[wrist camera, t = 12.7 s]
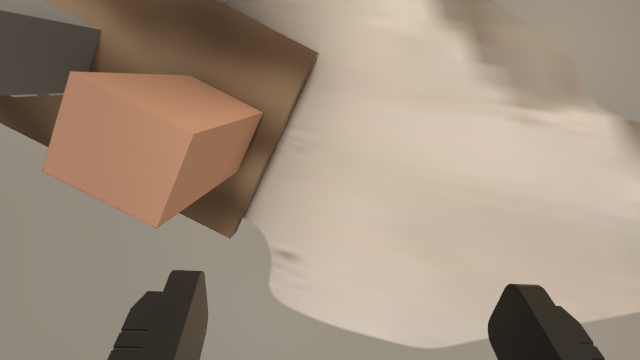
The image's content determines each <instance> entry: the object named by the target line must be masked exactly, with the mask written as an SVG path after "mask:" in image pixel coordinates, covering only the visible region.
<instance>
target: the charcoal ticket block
mask: <svg viewBox="0 0 640 360" xmlns="http://www.w3.org/2000/svg"><path fill="white" fill-rule="evenodd" d="M100 33H101V29H99V28H97V27H95V26H93V25H91V24H89V23H87V22H85V21H83V20H81V19H79V18H77V17H75V16H73V15H71V14H69V13H67V12H65V11H63V10H61V9H59V8H57V7H55V6H53V5H51V4H49V3H47V2H45V1H43V0H0V96H3V95H10V96H12V97H27V96H37V94H49V95H64V91H65V88H66V84H67V81H68V77H69V74H70V71H74V72H89V70H90V66H91V63H92V60H93V56H94V53H95V49H96V46H97V43H98V39H99V36H100Z"/></svg>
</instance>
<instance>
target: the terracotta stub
mask: <svg viewBox="0 0 640 360" xmlns="http://www.w3.org/2000/svg"><path fill="white" fill-rule="evenodd" d="M262 114H263V112H261V111H259V110H257V109H255V108H253V107H251V106H249V105H247V104H245V103H243V102H241V101H239V100H237V99H235V98H233V97H231V96H230V95H228V94H226V93H224V92H222V91H220V90H218V89H216V88H214V87H212V86H210V85H208V84H206V83H204V82H202V81H200V80H198V79H196V78H194V77H192V76H190V75H161V74H132V73H103V72H74V71H70V74H69V77H68V81H67V84H66V88H65V91H64V95H63V98H62V102H61V105H60V109H59V112H58V116H57V120H56V123H55V127H54V130H53V134H52V137H51V141H50V144H49V148H48V151H47V155H46V158H45V162H44V165H43V169H42V171H43V172H45V173H47V174H49V175H51V176H53V177H56V178H57V179H59V180H61V181H63V182H66V183H67V184H69V185H71V186H73V187H75V188H77V189H79V190H81V191H83V192H85V193H87V194H89V195H91V196H93V197H95V198H97V199H99V200H101V201H103V202H105V203H107V204H109V205H111V206H113V207H115V208H117V209H119V210H121V211H123V212H125V213H127V214H129V215H131V216H133V217H135V218H137V219H139V220H141V221H143V222H145V223H147V224H149V225H151V226H153V227H155V228H158V227H159V226H161V225H162V224H163V223H165V222H166V221H168V220H169V219H171V218H172V217H173V216H175V215H176V214H178V213H179V212H181V211H182V210H183V209H185V208H186V207H188V206H189V205H190V204H192V203H193V202H195V201H196V200H198V199H199V198H200V197H202V196H203V195H205V194H206V193H208V192H209V191H210V190H212V189H213V188H215V187H216V186H217V185H219V184H220V183H222V182H223V181H225V180H226V179H227V178H229V177H230V176H232V175H233V174H235V173H236V172H237V171H238V169H239V167H240V164H241V162H242V160H243V158H244V155H245V153H246V151H247V148H248V146H249V144H250V142H251V139H252V137H253V135H254V133H255V130H256V128H257V126H258V124H259V121H260V119H261V117H262Z"/></svg>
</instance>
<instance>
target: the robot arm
mask: <svg viewBox="0 0 640 360" xmlns="http://www.w3.org/2000/svg"><path fill="white" fill-rule="evenodd" d="M207 321H208V306H207V295H206V285H205V276H204V272H203V271H184V270H173V271H172V272H171V273H170V275H169V278H168V280H167V283H166V286H165V288H164V291H163V292H156V291H154V292H153V291H148V292H146V293H145V295H144V296H143V297H142V298H141V299H140V300H139V301H138V302H137V303H136V304H135V305H134V306H133V307H132V308H131V309H130V312H129V314H128V316H127V318H126V320H125V323H124V325H123V327H122V331H121V333H120V334H119V336H118V338H117V340H116V342H115V344H114V349H113V351H111V353H110V355H109V358H108V360H199V359H200V355H201V351H202V347H203V343H204V339H205V335H206V329H207ZM488 335H489V340H490V343H491V345H492V347H493V349H494V352H495V354H496V356H497V359H498V360H605V359H604V357H603V356H602V354H601V353H600V351H599V350H598V348H597V347H596V346H593V341H592V340H591V338H590V337H589V336H588V334H587V333H586V332H585V330H584V329H583V327H582V326H581V324H580V323H579V322H578V321H577V320H576V319H574V318H573V317H572V316H571V315H570V314H569V313H568V312H567V311H565V310H564V309H563V308H562V307H561V306H555V304H554V303H553V301H552V300H551V298H550V297H549V295H548V294H547V292H546V291H545V289H544V288H542V287H541V286H539V285H524V284H509V285H507V286H506V288H505V289H504V291H503V293H502V295H501V297H500V299H499V301H498V303H497V305H496V307H495V309H494V311H493V313H492V315H491V317H490V319H489V323H488Z"/></svg>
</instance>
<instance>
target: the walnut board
mask: <svg viewBox="0 0 640 360" xmlns="http://www.w3.org/2000/svg"><path fill="white" fill-rule="evenodd" d="M43 1H45V2H47V3H49V4H51V5H53V6H55V7H57V8H59V9H61V10H63V11H65V12H67V13H69V14H71V15H73V16H75V17H77V18H79V19H81V20H83V21H85V22H87V23H89V24H91V25H93V26H95V27H97V28H99V29H101V33H100V36H99V39H98V43H97V46H96V49H95V53H94V56H93V60H92V63H91V66H90V70H89V72H103V73H132V74H161V75H190V76H192V77H194V78H196V79H198V80H200V81H202V82H204V83H206V84H208V85H210V86H212V87H214V88H216V89H218V90H220V91H222V92H224V93H226V94H228V95H230V96H231V97H233V98H235V99H237V100H239V101H241V102H243V103H245V104H247V105H249V106H251V107H253V108H255V109H257V110H259V111H261V112H263V114H262V117H261V119H260V121H259V124H258V126H257V128H256V130H255V133H254V135H253V137H252V139H251V142H250V144H249V146H248V148H247V151H246V153H245V155H244V158H243V160H242V162H241V164H240V167H239V169H238V171H237V172H236V173H235V174H233V175H232V176H230V177H229V178H227V179H226V180H225V181H223V182H222V183H220V184H219V185H217V186H216V187H215V188H213V189H212V190H210V191H209V192H208V193H206V194H205V195H203V196H202V197H200V198H199V199H198V200H196V201H195V202H193V203H192V204H190V205H189V206H188V207H186V208H185V209H183V210H182V211H181V212H179V213H181V214H183V215H184V216H186V217H188V218H190V219H192V220H194V221H196V222H198V223H200V224H202V225H205V226H207V227H208V228H210V229H212V230H214V231H216V232H218V233H221V234H222V235H224V236H226V237H228V238H231V237H232V236H233V235H234V234H235V232H236V231H237V229H238V227H239V224H240V222H241V220H242V218H243V216H244V214H245V211H246V209H247V207H248V205H249V203H250V201H251V198H252V196H253V194H254V192H255V190H256V188H257V185H258V183H259V181H260V179H261V177H262V175H263V172H264V170H265V168H266V166H267V164H268V162H269V159H270V157H271V155H272V153H273V151H274V149H275V146H276V144H277V142H278V140H279V138H280V136H281V133H282V131H283V129H284V127H285V125H286V123H287V120H288V118H289V116H290V114H291V112H292V110H293V107H294V105H295V103H296V101H297V99H298V97H299V94H300V92H301V90H302V88H303V86H304V84H305V81H306V79H307V77H308V75H309V73H310V71H311V68H312V66H313V64H314V62H315V60H316V58H317V55H318V53H317V52H315V51H313V50H311V49H309V48H307V47H305V46H303V45H301V44H299V43H297V42H295V41H294V40H292V39H290V38H288V37H286V36H284V35H282V34H280V33H278V32H276V31H274V30H272V29H270V28H268V27H266V26H264V25H262V24H260V23H258V22H256V21H254V20H252V19H250V18H248V17H246V16H244V15H243V14H241V13H239V12H237V11H235V10H233V9H231V8H229V7H227V6H225V5H223V4H221V3H219V2H217V1H215V0H43ZM62 98H63V95H49V94H37V96H27V97H12V96H10V95H3V96H0V123H2V124H4V125H6V126H7V127H10V128H11V129H13V130H16V131H18V132H20V133H21V134H23V135H25V136H27V137H29V138H31V139H33V140H35V141H37V142H39V143H42V144H43V145H45V146H47V147H49V144H50V141H51V137H52V134H53V130H54V127H55V123H56V120H57V116H58V112H59V109H60V105H61V102H62Z"/></svg>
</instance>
